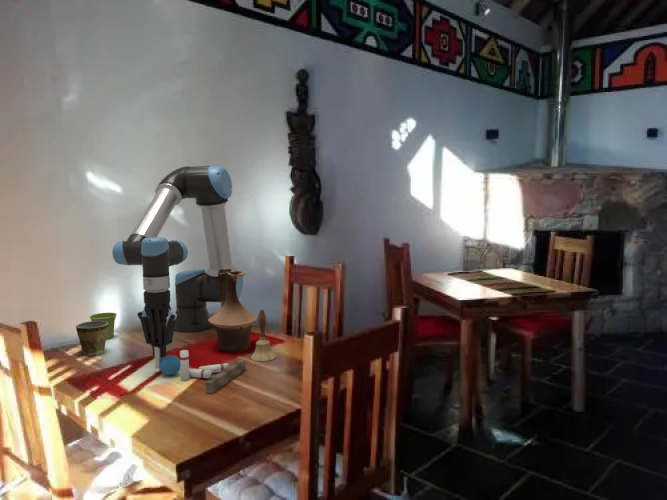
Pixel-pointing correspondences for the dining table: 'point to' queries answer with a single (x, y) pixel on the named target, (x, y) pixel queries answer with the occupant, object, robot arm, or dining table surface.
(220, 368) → the pin
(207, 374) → the front pin
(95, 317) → the plant pot
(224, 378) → the back wall
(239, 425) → the dining table surface
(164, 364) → the ball
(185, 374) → the pin
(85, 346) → the ceramic cup
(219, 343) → the pitcher
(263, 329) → the hand bell
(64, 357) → the dining table surface
